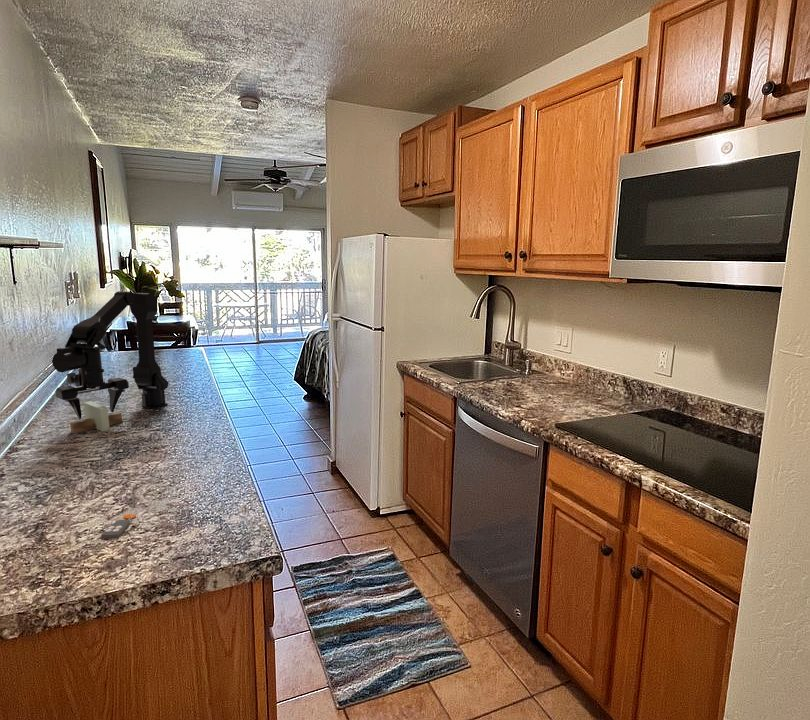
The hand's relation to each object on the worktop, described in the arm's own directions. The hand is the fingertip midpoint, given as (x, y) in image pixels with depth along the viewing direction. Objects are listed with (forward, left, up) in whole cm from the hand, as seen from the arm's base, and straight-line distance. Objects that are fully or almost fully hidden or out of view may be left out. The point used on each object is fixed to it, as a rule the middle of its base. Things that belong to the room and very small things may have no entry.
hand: (96, 415), depth 160 cm
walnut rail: (0, 0, -4) cm, 4 cm away
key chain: (+22, +68, -4) cm, 71 cm away
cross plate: (0, 0, -4) cm, 4 cm away
